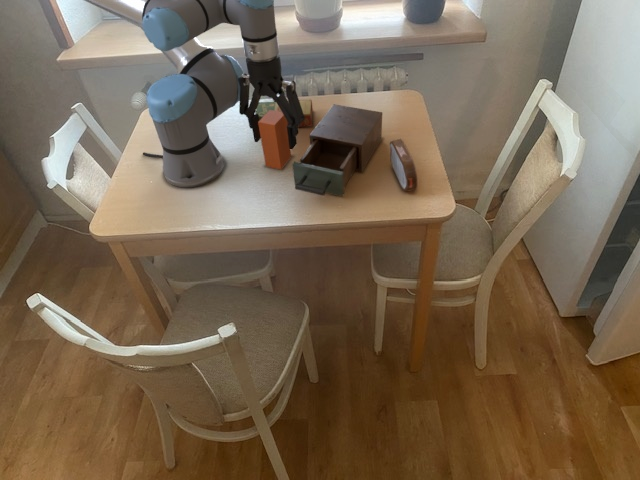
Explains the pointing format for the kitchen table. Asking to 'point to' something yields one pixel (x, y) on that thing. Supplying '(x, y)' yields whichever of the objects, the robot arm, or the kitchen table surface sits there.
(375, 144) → the cabinet
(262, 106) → the carton
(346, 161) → the drawer
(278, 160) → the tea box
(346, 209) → the kitchen table surface
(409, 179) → the tin
